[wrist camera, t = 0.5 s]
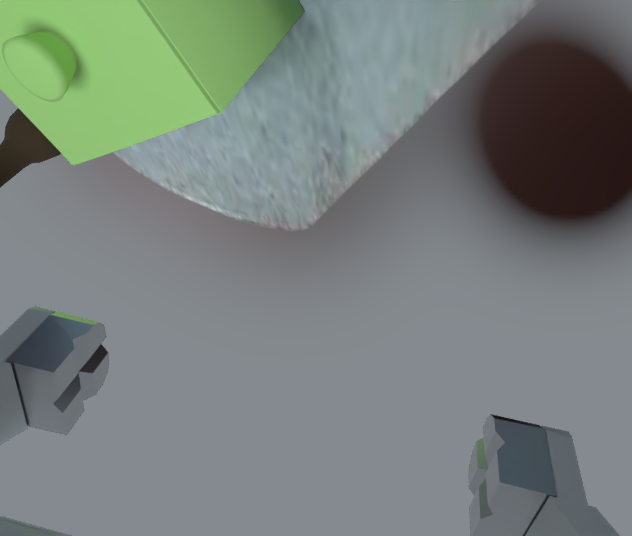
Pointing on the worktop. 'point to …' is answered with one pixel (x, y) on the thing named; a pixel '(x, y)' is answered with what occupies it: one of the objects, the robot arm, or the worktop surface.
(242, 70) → the canister
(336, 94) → the worktop surface
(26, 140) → the beer bottle
